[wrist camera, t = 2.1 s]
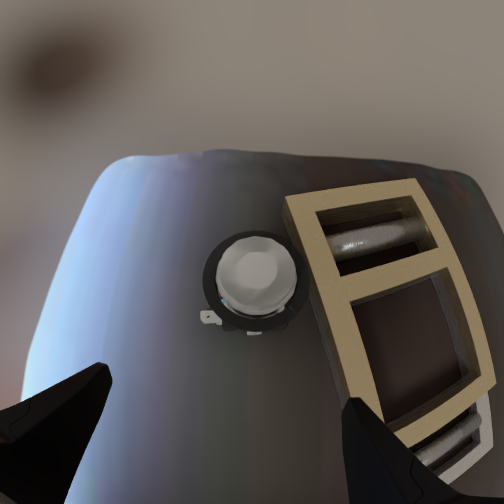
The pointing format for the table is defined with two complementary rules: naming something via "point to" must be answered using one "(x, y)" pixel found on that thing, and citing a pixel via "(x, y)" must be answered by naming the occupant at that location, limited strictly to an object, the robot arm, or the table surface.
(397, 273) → the cream double window frame
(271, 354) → the table surface
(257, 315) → the push button
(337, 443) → the table surface
